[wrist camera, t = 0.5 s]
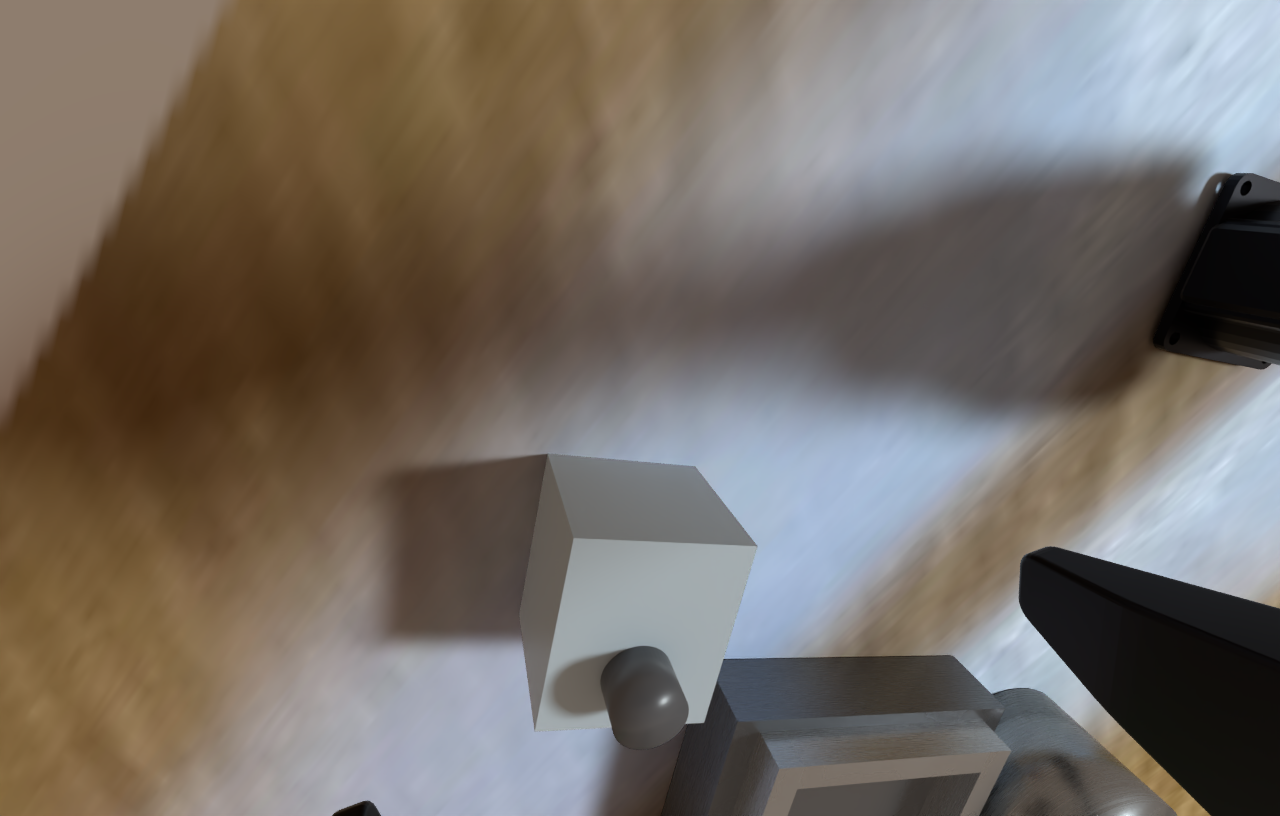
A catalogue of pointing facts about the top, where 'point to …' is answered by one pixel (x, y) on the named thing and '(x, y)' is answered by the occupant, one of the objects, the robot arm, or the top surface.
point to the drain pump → (629, 597)
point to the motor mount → (891, 746)
